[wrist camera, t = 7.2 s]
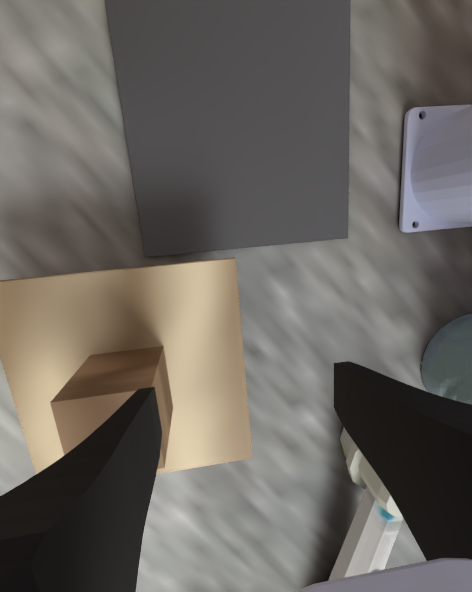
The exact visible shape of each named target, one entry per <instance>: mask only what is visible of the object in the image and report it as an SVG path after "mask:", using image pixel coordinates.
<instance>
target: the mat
mask: <svg viewBox="0 0 472 592" xmlns="http://www.w3.org/2000/svg"><path fill="white" fill-rule="evenodd" d="M105 5H106V12H107V18H108V24H109V31H110V37H111V43H112V50H113V56H114V62H115V69H116V75H117V81H118V88H119V94H120V100H121V107H122V113H123V119H124V126H125V132H126V138H127V145H128V151H129V157H130V164H131V170H132V176H133V183H134V189H135V195H136V202H137V208H138V214H139V221H140V227H141V233H142V240H143V246H144V252H145V257H152V256H163V255H174V254H184V253H195V252H205V251H216V250H227V249H237V248H248V247H259V246H269V245H280V244H290V243H301V242H312V241H322V240H333V239H344V238H348V186H349V87H350V0H105Z"/></svg>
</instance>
